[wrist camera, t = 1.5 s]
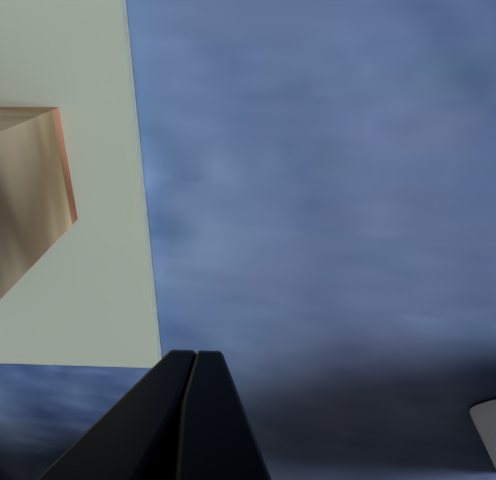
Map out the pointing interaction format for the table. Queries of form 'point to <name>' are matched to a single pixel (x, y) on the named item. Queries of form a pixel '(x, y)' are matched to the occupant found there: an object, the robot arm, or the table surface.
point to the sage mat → (82, 190)
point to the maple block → (31, 189)
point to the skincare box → (486, 425)
